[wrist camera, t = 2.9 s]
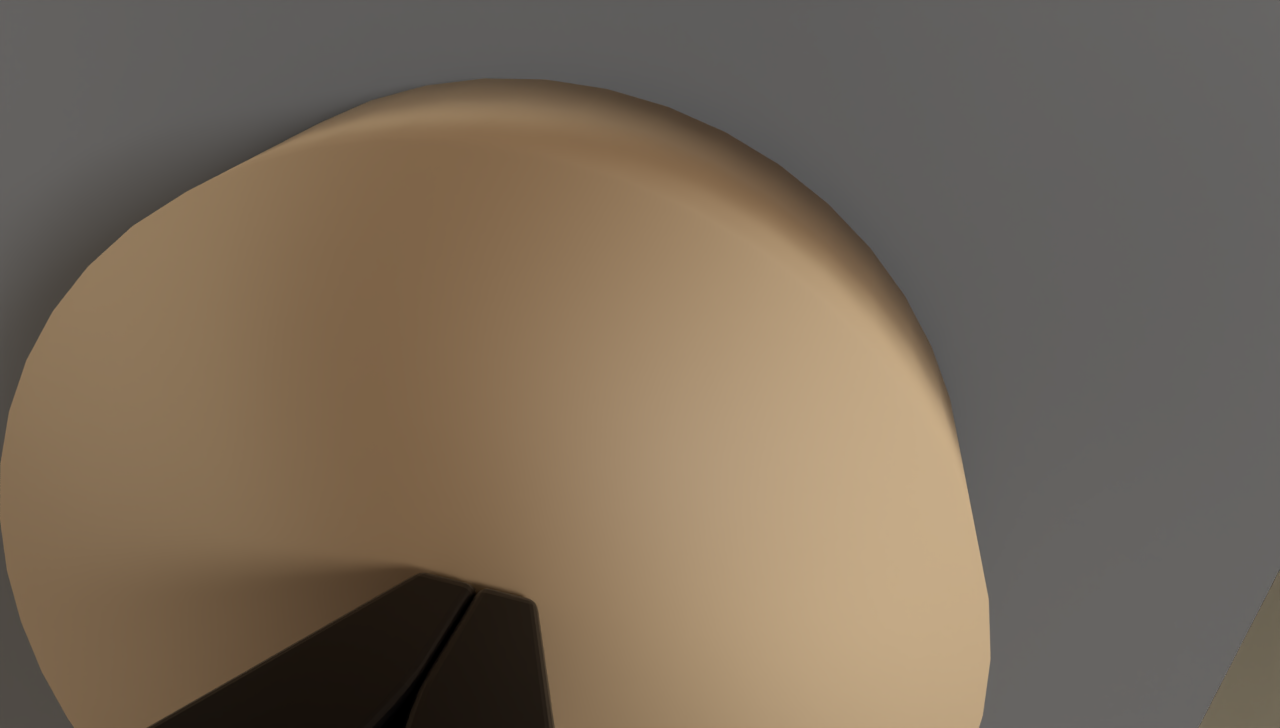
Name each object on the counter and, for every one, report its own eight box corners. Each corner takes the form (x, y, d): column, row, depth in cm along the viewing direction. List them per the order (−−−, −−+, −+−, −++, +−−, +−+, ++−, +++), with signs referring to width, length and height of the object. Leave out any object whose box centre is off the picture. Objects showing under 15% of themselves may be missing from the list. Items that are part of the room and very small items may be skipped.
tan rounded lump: (1014, 90, 12) (1160, 294, 6) (838, 633, 15) (835, 1089, 9) (357, -53, 12) (-32, 23, 7) (315, 500, 15) (21, 862, 10)
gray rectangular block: (1283, -127, 13) (1628, -110, 7) (920, 799, 19) (952, 1205, 13) (248, -336, 14) (-174, -467, 8) (217, 615, 19) (-36, 923, 14)
